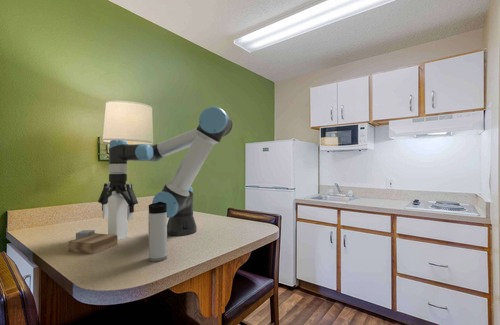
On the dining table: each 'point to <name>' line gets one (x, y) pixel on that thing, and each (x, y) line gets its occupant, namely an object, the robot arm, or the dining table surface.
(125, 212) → the milk
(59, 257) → the dining table surface
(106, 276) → the dining table surface
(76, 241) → the stand
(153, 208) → the travel mug
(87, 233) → the grey block
